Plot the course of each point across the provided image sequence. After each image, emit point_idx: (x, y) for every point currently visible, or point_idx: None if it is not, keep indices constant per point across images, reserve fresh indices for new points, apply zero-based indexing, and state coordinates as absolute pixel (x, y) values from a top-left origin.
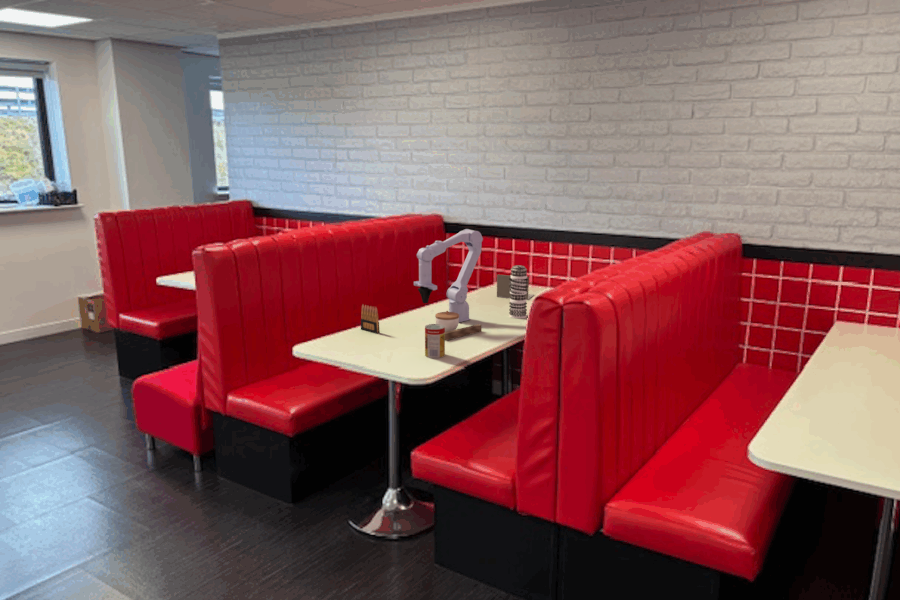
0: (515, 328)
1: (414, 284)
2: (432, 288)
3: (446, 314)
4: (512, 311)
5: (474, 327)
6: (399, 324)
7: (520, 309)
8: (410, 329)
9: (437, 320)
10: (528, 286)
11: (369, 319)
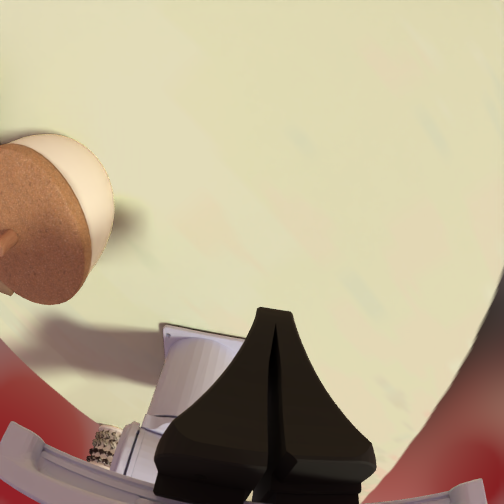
0: (16, 350)
1: (474, 495)
2: (61, 466)
3: (9, 228)
4: (109, 442)
5: None
6: (429, 119)
7: (94, 447)
8: (274, 51)
9: (31, 141)
10: None
11: None
